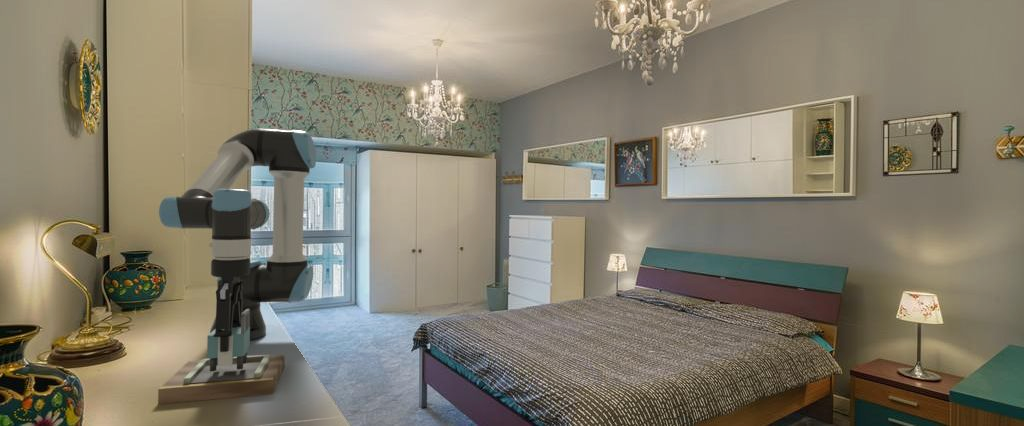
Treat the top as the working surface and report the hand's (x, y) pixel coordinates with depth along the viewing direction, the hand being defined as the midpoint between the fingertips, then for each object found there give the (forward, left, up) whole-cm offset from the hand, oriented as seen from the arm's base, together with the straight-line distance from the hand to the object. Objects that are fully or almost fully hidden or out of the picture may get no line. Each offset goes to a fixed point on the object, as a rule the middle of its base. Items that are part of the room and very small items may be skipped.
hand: (229, 360), depth 106 cm
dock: (-2, -1, -6) cm, 6 cm away
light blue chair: (0, 0, -1) cm, 1 cm away
